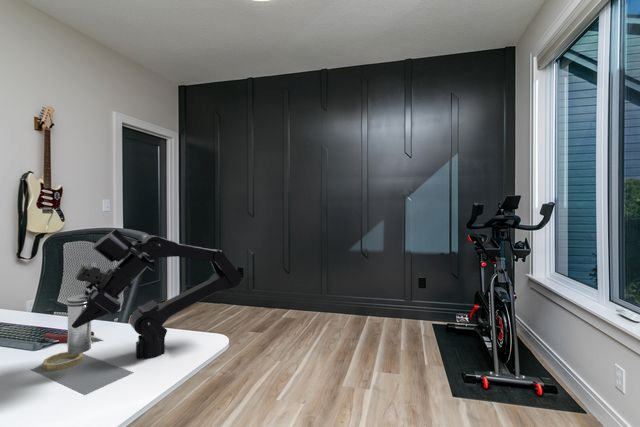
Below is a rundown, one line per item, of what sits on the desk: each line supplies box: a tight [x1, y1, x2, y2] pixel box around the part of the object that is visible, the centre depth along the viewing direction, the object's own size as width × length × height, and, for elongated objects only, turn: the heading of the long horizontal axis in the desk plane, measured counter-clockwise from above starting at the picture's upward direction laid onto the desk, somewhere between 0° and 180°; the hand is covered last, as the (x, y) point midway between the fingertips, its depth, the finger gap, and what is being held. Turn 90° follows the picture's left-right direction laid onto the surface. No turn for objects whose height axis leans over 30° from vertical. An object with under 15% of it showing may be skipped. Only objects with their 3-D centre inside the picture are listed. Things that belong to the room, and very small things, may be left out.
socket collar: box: [42, 351, 84, 371], centre depth 84 cm, size 8×8×2 cm
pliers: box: [43, 331, 105, 345], centre depth 102 cm, size 12×20×3 cm, turn 64°
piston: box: [66, 294, 92, 354], centre depth 80 cm, size 5×5×13 cm
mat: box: [30, 353, 135, 396], centre depth 80 cm, size 24×11×1 cm, turn 63°
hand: (72, 324), depth 79 cm, fingers closed on piston, 5 cm apart
